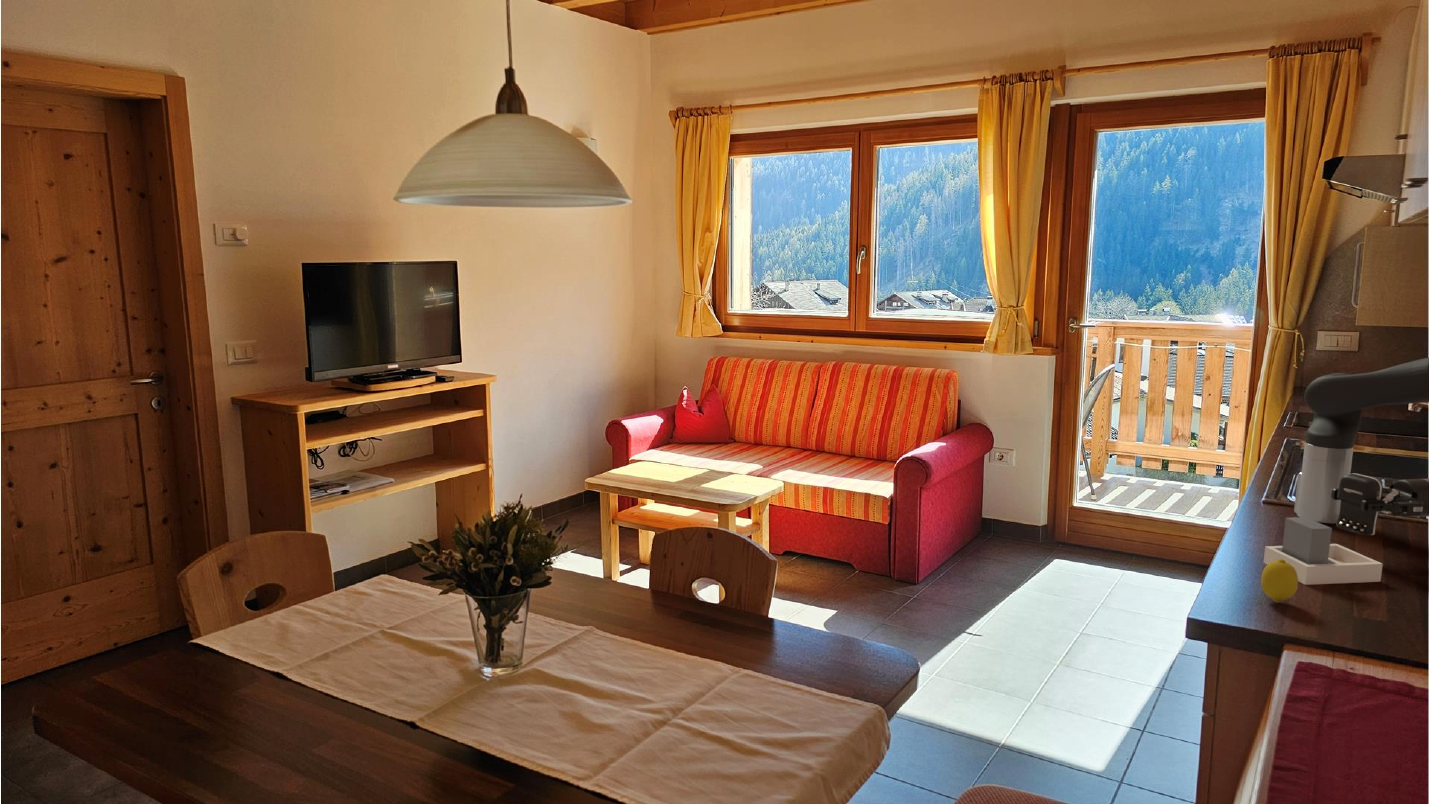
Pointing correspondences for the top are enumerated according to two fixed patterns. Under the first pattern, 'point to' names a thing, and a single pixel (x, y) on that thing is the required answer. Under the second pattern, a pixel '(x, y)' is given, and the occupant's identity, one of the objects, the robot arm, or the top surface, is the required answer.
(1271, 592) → the lemon
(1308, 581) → the dock
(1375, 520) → the battery charger
